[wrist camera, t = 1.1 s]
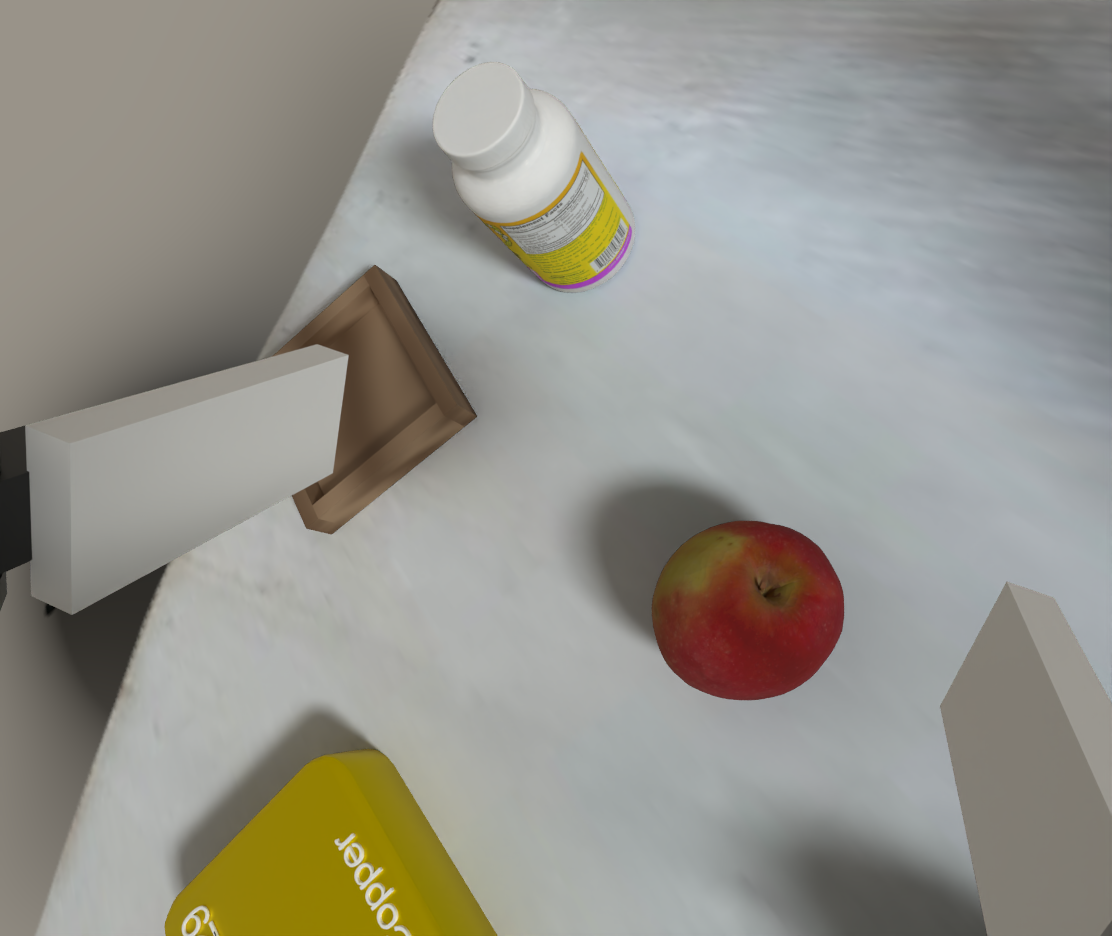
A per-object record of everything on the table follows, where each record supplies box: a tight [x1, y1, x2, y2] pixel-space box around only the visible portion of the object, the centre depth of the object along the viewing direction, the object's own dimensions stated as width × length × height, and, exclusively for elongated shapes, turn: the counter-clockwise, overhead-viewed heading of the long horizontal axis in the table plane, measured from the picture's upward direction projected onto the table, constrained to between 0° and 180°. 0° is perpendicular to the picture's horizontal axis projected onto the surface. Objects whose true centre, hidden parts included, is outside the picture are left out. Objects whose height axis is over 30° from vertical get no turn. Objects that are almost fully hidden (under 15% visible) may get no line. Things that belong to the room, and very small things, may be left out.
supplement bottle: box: [433, 62, 635, 293], centre depth 40 cm, size 7×7×13 cm
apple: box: [652, 521, 844, 700], centre depth 34 cm, size 8×8×8 cm
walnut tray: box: [272, 265, 477, 534], centre depth 49 cm, size 12×12×2 cm
